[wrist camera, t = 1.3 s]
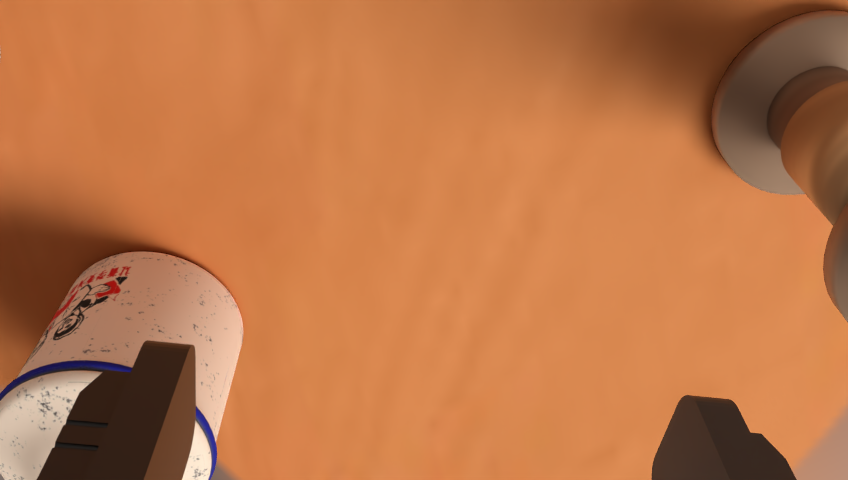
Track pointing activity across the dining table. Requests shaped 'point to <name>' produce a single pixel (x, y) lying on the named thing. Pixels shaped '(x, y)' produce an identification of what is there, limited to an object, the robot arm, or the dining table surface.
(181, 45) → the dining table surface
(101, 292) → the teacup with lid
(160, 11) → the dining table surface
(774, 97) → the doorknob
